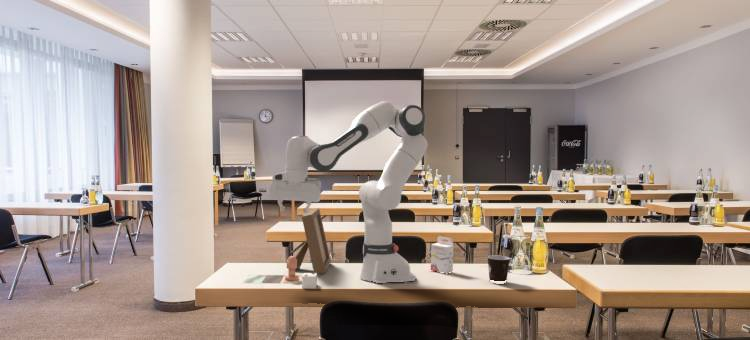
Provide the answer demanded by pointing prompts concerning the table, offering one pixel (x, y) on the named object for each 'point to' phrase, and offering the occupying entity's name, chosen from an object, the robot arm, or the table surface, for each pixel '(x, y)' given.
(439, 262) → the ink cartridge box
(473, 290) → the table surface
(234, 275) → the table surface
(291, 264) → the pawn
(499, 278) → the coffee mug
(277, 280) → the track board
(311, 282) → the die
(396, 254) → the robot arm
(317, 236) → the photo frame
